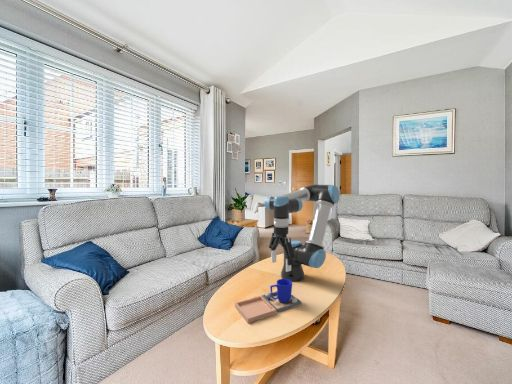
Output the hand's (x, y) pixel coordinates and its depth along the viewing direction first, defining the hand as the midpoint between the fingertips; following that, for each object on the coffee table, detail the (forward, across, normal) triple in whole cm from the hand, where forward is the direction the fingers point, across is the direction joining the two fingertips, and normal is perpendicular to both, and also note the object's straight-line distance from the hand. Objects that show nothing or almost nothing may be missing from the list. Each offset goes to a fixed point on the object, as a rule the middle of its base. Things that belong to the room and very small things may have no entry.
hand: (280, 266), depth 120 cm
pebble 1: (+19, -5, -5) cm, 20 cm away
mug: (+19, 0, 0) cm, 19 cm away
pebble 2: (+19, +5, +5) cm, 20 cm away
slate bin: (+19, 0, 0) cm, 19 cm away
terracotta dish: (+18, +1, -16) cm, 24 cm away
